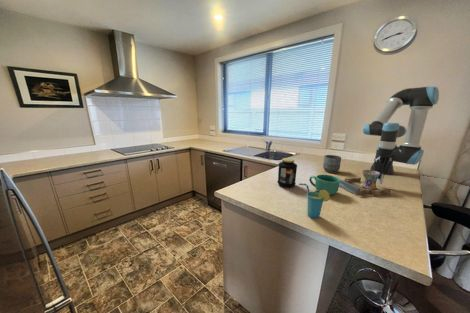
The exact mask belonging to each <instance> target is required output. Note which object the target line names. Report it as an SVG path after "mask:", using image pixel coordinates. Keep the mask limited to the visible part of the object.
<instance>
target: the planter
mask: <svg viewBox="0 0 470 313" xmlns="http://www.w3.org/2000/svg"><path fill="white" fill-rule="evenodd" d="M341 161H342V157H341V156H339V155H333V154H325V155H324V157H323V164H322V168H323V170H324V171H325V172H326V173H327V174H336V173H337V172H339V170H340V168H341V163H342V162H341Z"/></svg>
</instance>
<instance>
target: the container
mask: <svg viewBox="0 0 470 313" xmlns="http://www.w3.org/2000/svg"><path fill="white" fill-rule="evenodd" d="M297 168H298V164H297V163H295V159H294V158H291V157H283V158H282V159H281V162H279V163H278V173H277V184H278V185H279V186H281V187H285V188H292V187H294V186H295V185H296V184H297V183H296V180H297V178H296V177H297V171H298V170H297Z"/></svg>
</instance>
